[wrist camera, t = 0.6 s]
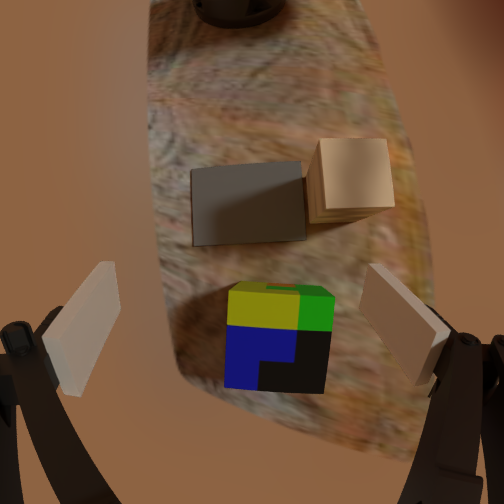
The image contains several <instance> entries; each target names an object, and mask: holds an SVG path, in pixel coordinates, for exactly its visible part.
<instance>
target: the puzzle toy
mask: <svg viewBox="0 0 504 504" xmlns="http://www.w3.org/2000/svg"><path fill="white" fill-rule="evenodd" d="M334 305H335V297H334V296H333V295H332V294H331V293H329V292H328V291H327V290H326V289H324V288H323V287H322V286H313V285H295V284H279V283H264V282H249V281H240V282H239V283H238V284H236V285H235V286H234V287H233V288H231V289H230V290H229V295H228V314H227V334H226V356H225V379H224V387H225V388H234V389H244V390H255V391H268V392H284V393H307V394H324V388H325V381H326V374H327V367H328V359H329V351H330V343H331V334H332V325H333V315H334Z"/></svg>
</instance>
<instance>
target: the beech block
mask: <svg viewBox="0 0 504 504" xmlns="http://www.w3.org/2000/svg"><path fill="white" fill-rule="evenodd" d="M306 184H307V197H308V211H309V224H315V223H337V222H357V221H359V220H362V219H364V218H367V217H369V216H372V215H375V214H377V213H380V212H382V211H385V210H387V209H390V208H393V207H395V203H394V193H393V184H392V176H391V168H390V161H389V154H388V148H387V142H386V139H368V138H320V139H319V141H318V144H317V147H316V150H315V153H314V155H313V158H312V161H311V164H310V167H309V169H308V172H307V175H306Z"/></svg>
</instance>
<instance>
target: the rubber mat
mask: <svg viewBox="0 0 504 504" xmlns="http://www.w3.org/2000/svg"><path fill="white" fill-rule="evenodd" d="M192 207H193V234H194V246H206V245H224V244H242V243H260V242H279V241H298V240H306V226H305V211H304V197H303V184H302V172H301V161H289V162H270V163H255V164H241V165H229V166H218V167H208V168H198V169H192Z"/></svg>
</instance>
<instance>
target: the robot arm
mask: <svg viewBox="0 0 504 504" xmlns="http://www.w3.org/2000/svg"><path fill="white" fill-rule="evenodd" d="M284 4H285V0H193V5H194V8H195V10H196V13H197V15H198V16H199V17H200V18H201V19H202V20H203V21H205V22H206V23H208V24H211V25H214V26H217V27H222V28H244V27H250V26H254V25H258V24H261V23H263V22H265V21H267V20H269V19H271V18H273V17H274V16H275V15H277V14H278V13H279V12H280V11H281V9H282V8H283V6H284ZM359 309H360V310H361V312H362V313H363V315H364V316H365V317H366V319H367V320H368V321H369V323H370V324H371V326H372V327H373V328H374V330H375V331H376V333H377V334H378V335H379V337H380V338H381V340H382V341H383V342H384V344H385V345H386V347H387V348H388V349H389V351H390V352H391V354H392V355H393V357H394V358H395V359H396V361H397V362H398V364H399V365H400V367H401V368H402V370H403V371H404V372H405V374H406V375H407V377H408V378H409V380H410V381H411V383H412V384H413V386H419V385H423V384H427V383H428V382H429V380H430V378H431V376H432V373H434V374H435V375H436V376H437V379H436V381H435V383H434V385H433V387H432V389H431V391H430V393H429V395H428V397H429V398H430V397H431V400H430V405H429V409H428V413H427V417H426V421H425V424H424V428H423V432H422V435H421V438H420V442H419V445H418V448H417V452H416V455H415V458H414V461H413V464H412V467H411V469H410V472H409V475H408V478H407V480H406V483H405V486H404V488H403V491H402V493H401V496H400V498H399V501H398V503H397V504H480V500H481V494H482V489H483V478H482V477H481V476H476V467H477V460H478V452H479V444H480V434H481V440H482V446H483V453H484V460H485V469H486V478H487V490H488V504H504V335H495V336H494V338H493V339H492V342H491V344H481V342H480V340H479V339H478V338H477V337H475V336H474V335H471V334H469V333H464V332H463V333H458V332H457V331H456V330H455V329H453V327H452V326H450V325H449V324H448V323H447V322H446V321H445V320H444V319H443V318H442V317H441V316H439V314H438V313H437V312H436V311H435V310H434V309H433V308H431V307H429V306H428V305H426V304H424V303H423V302H421V301H420V300H419V299H418V298H417V297H416V296H415V295H414V294H413V293H412V292H411V291H410V290H409V289H408V288H407V287H406V286H404V285H403V284H402V283H401V282H400V281H399V280H398V279H397V278H396V277H395V276H394V275H393V274H391V273H390V272H389V271H388V270H387V269H386V268H385V267H384V266H383V265H381V264H368V268H367V274H366V279H365V283H364V288H363V293H362V297H361V302H360V306H359ZM120 310H121V306H120V299H119V293H118V286H117V279H116V271H115V263H114V261H100V263H99V264H98V265H97V266H96V267H95V269H94V270H93V271H92V272H91V274H90V275H89V276H88V277H87V278H86V279H85V281H84V282H83V283H82V284H81V286H80V287H79V288H78V289H77V291H76V292H75V293H74V294H73V296H72V297H71V298H70V300H69V301H68V302H67V303H66V305H65V306H58V307H56V308H55V309H54V310H52V311H50V313H49V314H48V315H47V316H46V318H45V320H43V322H42V323H41V325H40V326H39V327H38V328H37V329H36V331H35V332H34V333H33V331H32V328H31V326H30V324H29V323H27V322H25V321H16V322H12V323H10V324H8V325H6V326H5V327H4V328H3V329H2V330H1V331H0V338H1V341H2V344H3V346H4V349H5V351H6V354H0V504H24V501H23V494H22V488H21V481H20V472H19V463H18V450H17V431H16V405H20V407H21V410H22V414H23V417H24V420H25V423H26V426H27V429H28V431H29V434H30V437H31V440H32V442H33V445H34V447H35V450H36V452H37V455H38V457H39V460H40V462H41V464H42V467H43V469H44V471H45V473H46V475H47V478H48V480H49V482H50V484H51V486H52V488H53V490H54V492H55V494H56V496H57V498H58V500H59V502H60V504H122V503H121V502H120V501H119V500H118V498H117V497H116V495H115V494H114V492H113V491H112V490H111V488H110V487H109V485H108V484H107V482H106V481H105V479H104V478H103V476H102V475H101V473H100V472H99V471H98V469H97V467H96V466H95V464H94V462H93V461H92V459H91V457H90V456H89V454H88V452H87V451H86V449H85V447H84V446H83V444H82V442H81V440H80V438H79V437H78V435H77V433H76V431H75V429H74V427H73V426H72V424H71V422H70V420H69V418H68V416H67V414H66V412H65V410H64V408H63V406H62V403H61V401H60V399H59V397H58V395H57V393H56V389H57V387H58V385H59V384H60V386H61V388H62V391H63V393H64V394H65V395H71V396H76V397H81V396H82V393H83V391H84V389H85V386H86V384H87V382H88V379H89V377H90V375H91V372H92V370H93V368H94V366H95V363H96V361H97V359H98V357H99V354H100V352H101V350H102V348H103V346H104V344H105V341H106V339H107V337H108V335H109V333H110V331H111V329H112V327H113V325H114V322H115V320H116V318H117V316H118V314H119V312H120ZM498 382H499V384H498ZM497 384H498V385H497ZM431 395H432V396H431Z"/></svg>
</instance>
